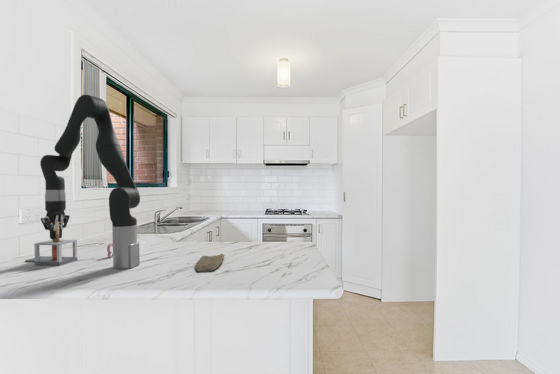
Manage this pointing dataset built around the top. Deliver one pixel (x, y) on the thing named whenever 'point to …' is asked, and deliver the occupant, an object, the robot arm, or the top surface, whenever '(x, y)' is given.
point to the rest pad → (40, 258)
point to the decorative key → (109, 251)
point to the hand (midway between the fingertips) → (56, 238)
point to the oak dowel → (56, 234)
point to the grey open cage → (60, 259)
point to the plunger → (54, 253)
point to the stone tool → (209, 263)
